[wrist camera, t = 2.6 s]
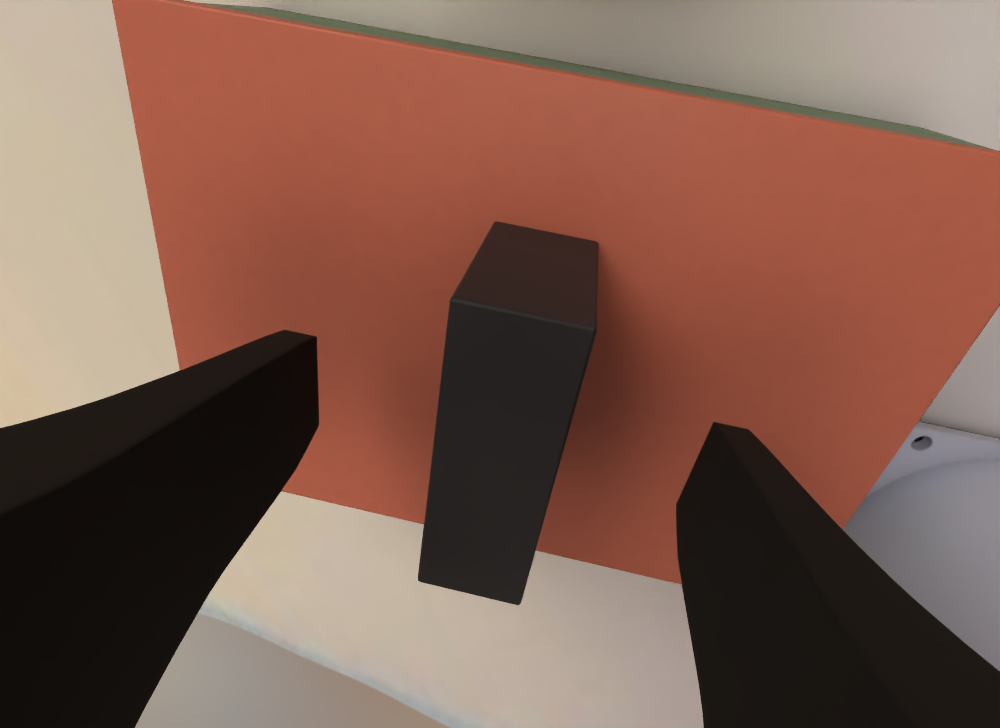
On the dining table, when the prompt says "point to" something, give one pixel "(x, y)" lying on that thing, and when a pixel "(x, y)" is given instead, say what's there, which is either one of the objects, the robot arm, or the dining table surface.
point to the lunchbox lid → (549, 278)
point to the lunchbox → (600, 73)
